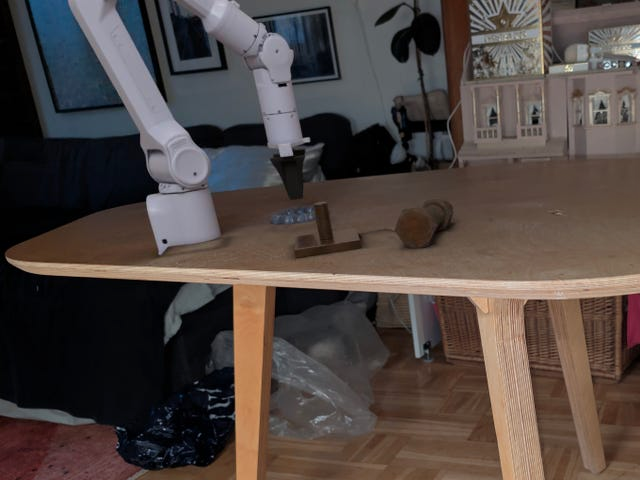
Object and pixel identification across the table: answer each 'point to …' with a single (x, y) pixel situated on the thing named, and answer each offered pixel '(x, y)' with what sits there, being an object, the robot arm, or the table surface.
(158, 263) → the table surface
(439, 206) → the bolt
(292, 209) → the ring
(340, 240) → the stand
